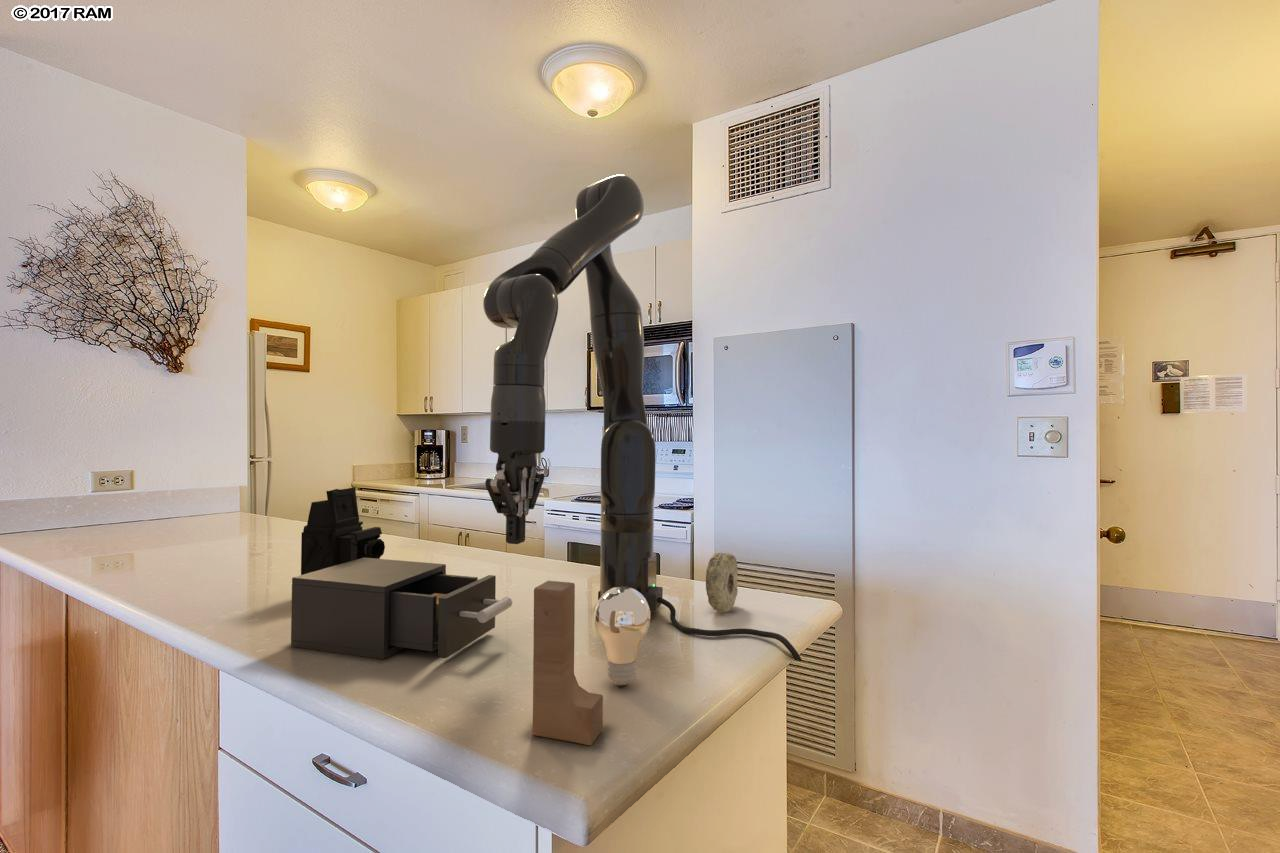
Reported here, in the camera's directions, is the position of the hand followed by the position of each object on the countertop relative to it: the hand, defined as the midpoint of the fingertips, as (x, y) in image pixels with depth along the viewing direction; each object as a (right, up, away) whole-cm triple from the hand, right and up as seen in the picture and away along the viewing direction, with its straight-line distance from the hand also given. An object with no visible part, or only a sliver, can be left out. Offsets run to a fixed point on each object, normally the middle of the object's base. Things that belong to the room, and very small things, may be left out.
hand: (515, 542), depth 79 cm
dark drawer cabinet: (-23, -15, +6) cm, 28 cm away
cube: (-12, -13, +3) cm, 18 cm away
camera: (-37, -16, +26) cm, 48 cm away
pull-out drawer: (-11, -14, +3) cm, 19 cm away
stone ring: (+32, -16, +20) cm, 41 cm away
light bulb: (+15, -16, -10) cm, 24 cm away
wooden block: (+10, -15, -21) cm, 28 cm away
